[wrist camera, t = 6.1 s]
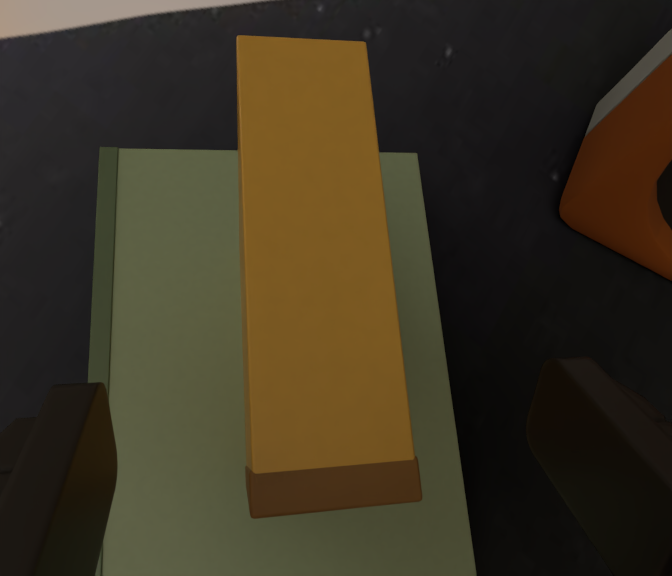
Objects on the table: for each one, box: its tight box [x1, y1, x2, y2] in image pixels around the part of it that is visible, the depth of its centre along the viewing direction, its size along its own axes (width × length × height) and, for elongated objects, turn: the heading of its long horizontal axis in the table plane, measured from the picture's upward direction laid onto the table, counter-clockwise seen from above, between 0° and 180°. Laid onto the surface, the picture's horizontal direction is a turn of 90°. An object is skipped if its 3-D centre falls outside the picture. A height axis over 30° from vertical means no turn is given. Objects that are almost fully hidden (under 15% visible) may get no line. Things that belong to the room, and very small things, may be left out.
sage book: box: [88, 147, 477, 576], centre depth 25 cm, size 15×20×3 cm
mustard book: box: [236, 35, 422, 519], centre depth 17 cm, size 3×10×13 cm, turn 5°
